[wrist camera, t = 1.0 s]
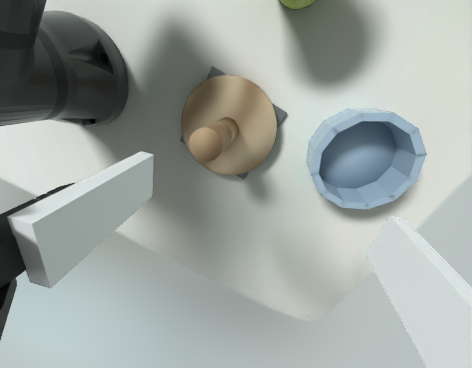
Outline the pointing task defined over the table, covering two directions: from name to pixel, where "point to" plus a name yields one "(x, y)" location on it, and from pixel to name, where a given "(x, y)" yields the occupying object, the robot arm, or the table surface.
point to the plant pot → (297, 3)
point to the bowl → (365, 157)
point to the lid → (229, 124)
